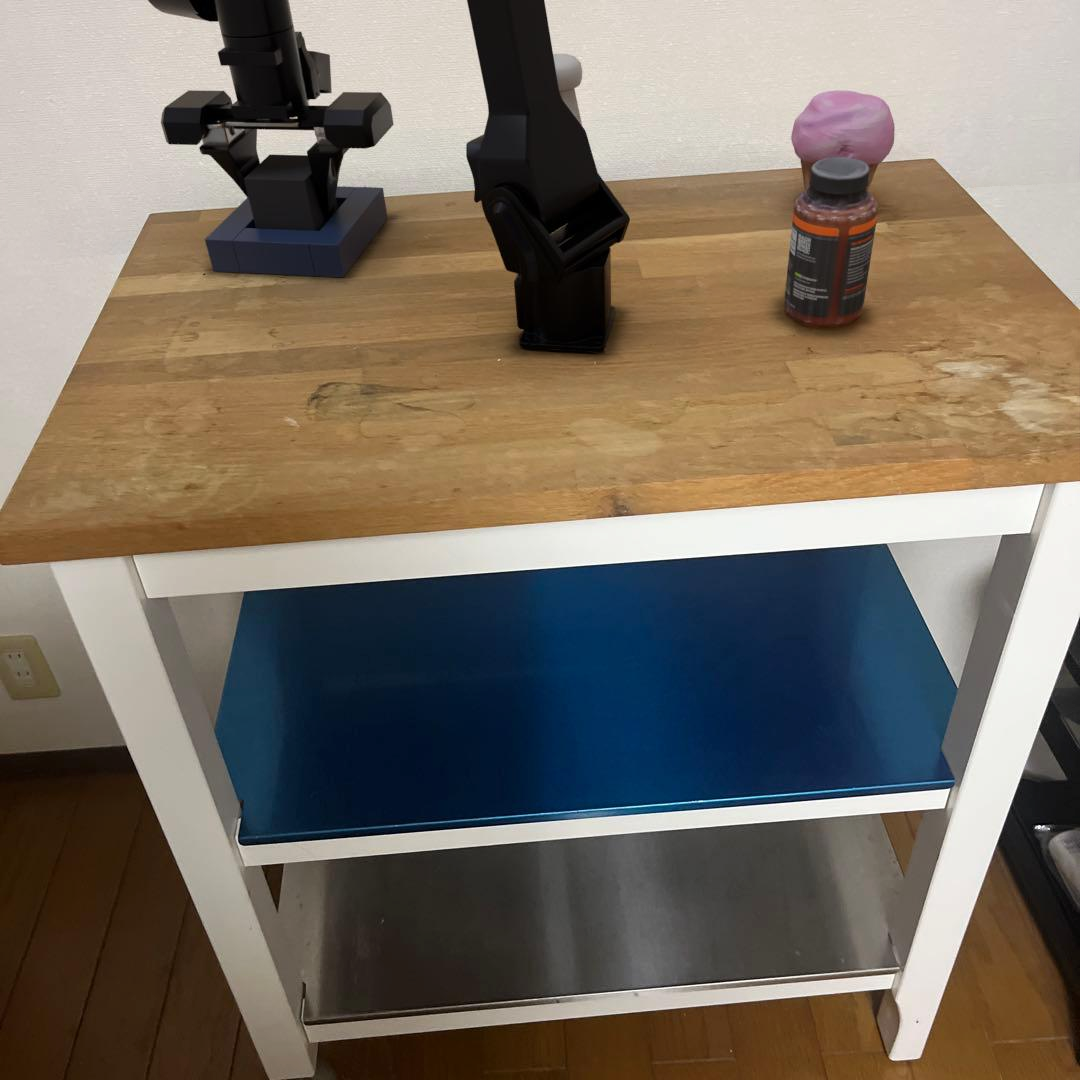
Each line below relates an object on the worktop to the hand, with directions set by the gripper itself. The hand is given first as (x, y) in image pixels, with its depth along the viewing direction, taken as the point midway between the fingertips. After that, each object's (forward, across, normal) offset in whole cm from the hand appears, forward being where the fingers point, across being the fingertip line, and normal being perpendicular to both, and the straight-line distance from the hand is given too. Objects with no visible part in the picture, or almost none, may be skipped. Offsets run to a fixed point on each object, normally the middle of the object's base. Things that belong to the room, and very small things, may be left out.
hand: (298, 216), depth 92 cm
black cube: (+2, 0, 0) cm, 2 cm away
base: (+3, 0, 0) cm, 3 cm away
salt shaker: (+3, -22, -11) cm, 25 cm away
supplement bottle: (+3, -46, +8) cm, 47 cm away
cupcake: (+3, -47, -12) cm, 49 cm away
